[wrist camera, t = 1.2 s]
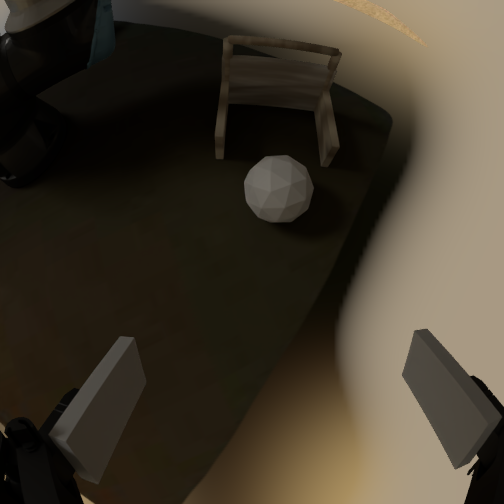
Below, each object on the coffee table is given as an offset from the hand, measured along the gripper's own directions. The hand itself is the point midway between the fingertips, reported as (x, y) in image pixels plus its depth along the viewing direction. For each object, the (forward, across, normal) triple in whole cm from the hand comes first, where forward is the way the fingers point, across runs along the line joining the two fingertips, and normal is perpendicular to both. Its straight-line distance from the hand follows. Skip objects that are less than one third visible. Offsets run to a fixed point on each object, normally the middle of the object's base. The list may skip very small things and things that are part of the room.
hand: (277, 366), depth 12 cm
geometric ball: (+26, +1, +4) cm, 26 cm away
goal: (+31, +1, +14) cm, 35 cm away
